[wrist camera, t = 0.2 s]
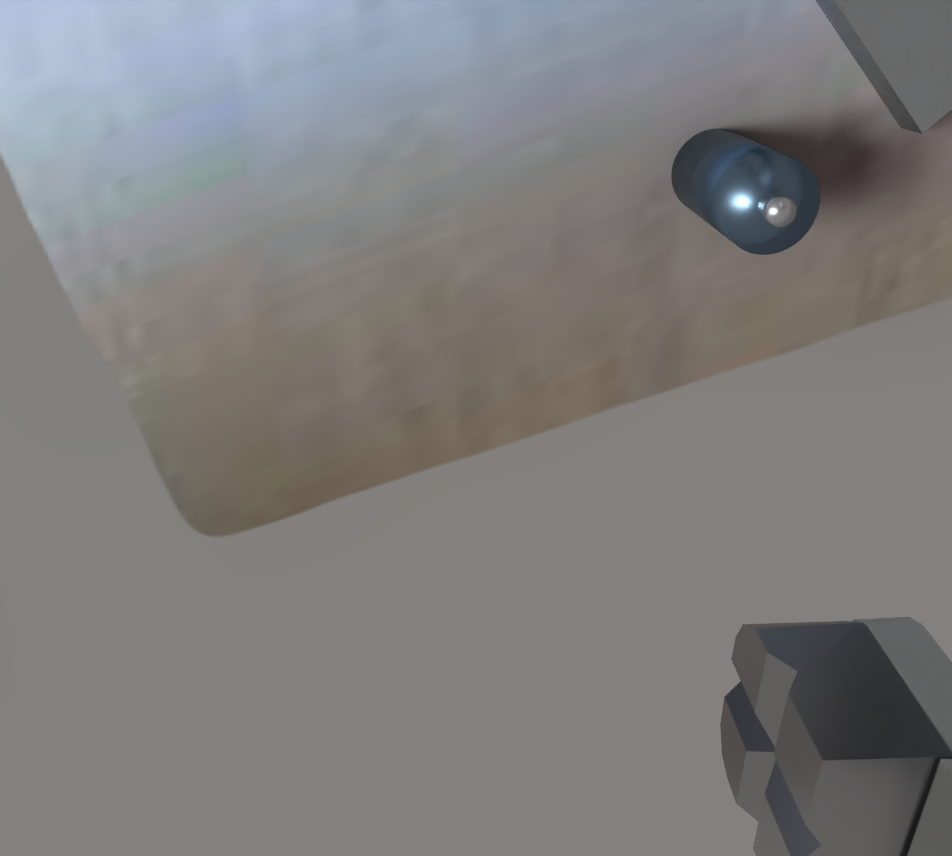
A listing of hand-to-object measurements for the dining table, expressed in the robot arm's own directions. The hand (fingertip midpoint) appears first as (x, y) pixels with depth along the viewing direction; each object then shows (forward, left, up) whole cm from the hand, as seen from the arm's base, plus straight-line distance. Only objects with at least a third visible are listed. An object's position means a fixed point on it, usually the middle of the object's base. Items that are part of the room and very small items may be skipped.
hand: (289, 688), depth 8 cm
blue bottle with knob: (+4, +19, -48) cm, 52 cm away
